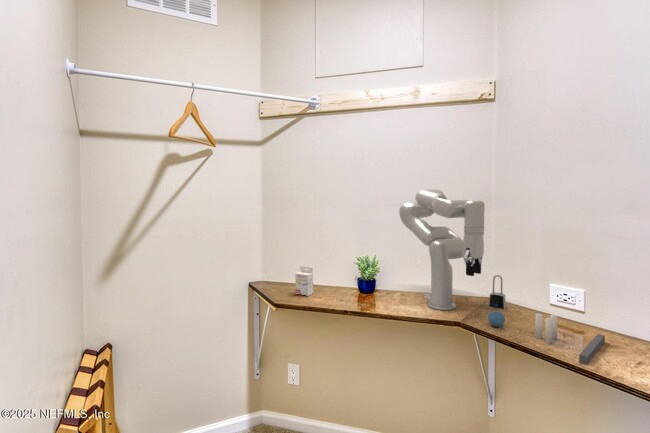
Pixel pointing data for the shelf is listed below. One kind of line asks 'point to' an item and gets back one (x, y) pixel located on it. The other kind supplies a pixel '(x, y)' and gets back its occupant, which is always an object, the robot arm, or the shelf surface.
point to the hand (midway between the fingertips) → (473, 273)
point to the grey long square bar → (591, 349)
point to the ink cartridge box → (304, 281)
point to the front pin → (538, 325)
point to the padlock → (497, 297)
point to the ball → (496, 318)
